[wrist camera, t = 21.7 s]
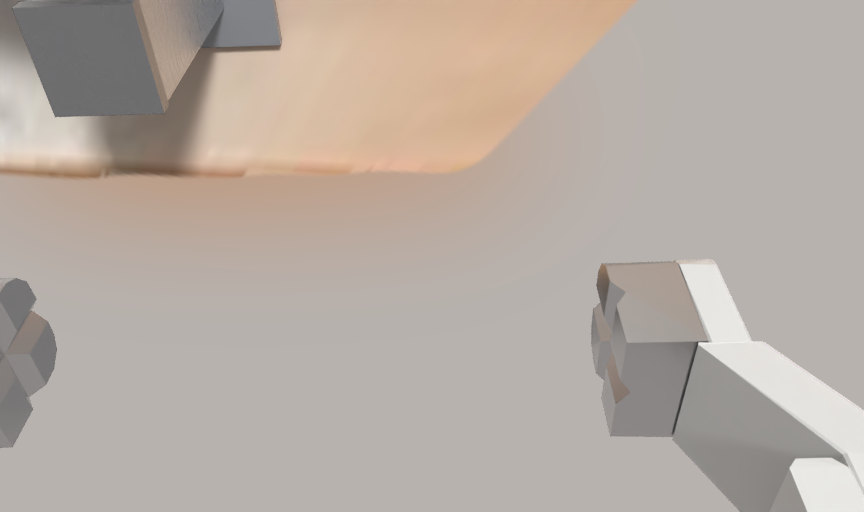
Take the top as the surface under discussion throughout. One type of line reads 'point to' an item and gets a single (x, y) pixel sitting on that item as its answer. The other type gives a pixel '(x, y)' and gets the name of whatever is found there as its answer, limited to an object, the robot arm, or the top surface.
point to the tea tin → (113, 51)
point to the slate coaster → (245, 25)
